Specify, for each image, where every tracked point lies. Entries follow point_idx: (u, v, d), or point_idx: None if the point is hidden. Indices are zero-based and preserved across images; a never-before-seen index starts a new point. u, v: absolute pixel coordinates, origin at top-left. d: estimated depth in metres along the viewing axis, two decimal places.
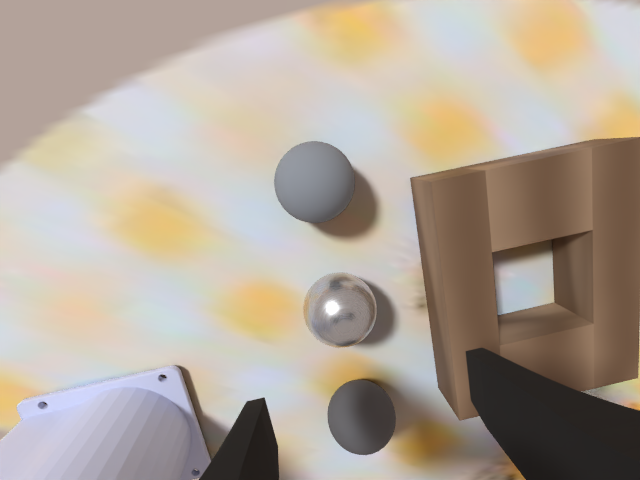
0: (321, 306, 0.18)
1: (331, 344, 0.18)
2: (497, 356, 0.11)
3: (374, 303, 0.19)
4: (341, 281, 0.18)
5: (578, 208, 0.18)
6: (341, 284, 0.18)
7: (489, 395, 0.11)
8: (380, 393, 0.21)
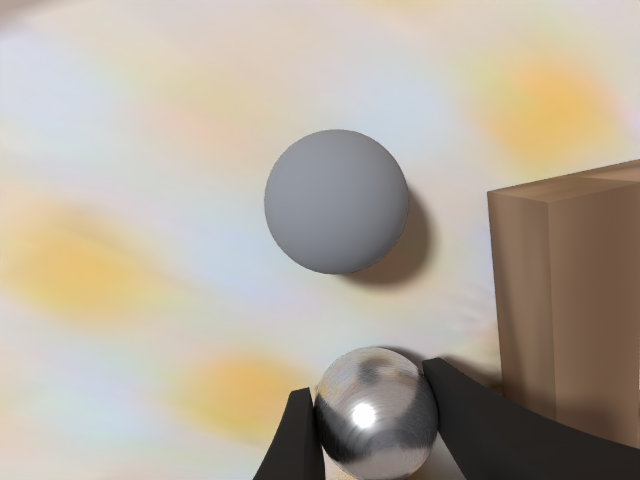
0: (347, 421, 0.10)
1: None
2: (449, 367, 0.11)
3: (435, 407, 0.11)
4: (381, 372, 0.11)
5: None
6: (382, 380, 0.10)
7: (441, 406, 0.11)
8: None
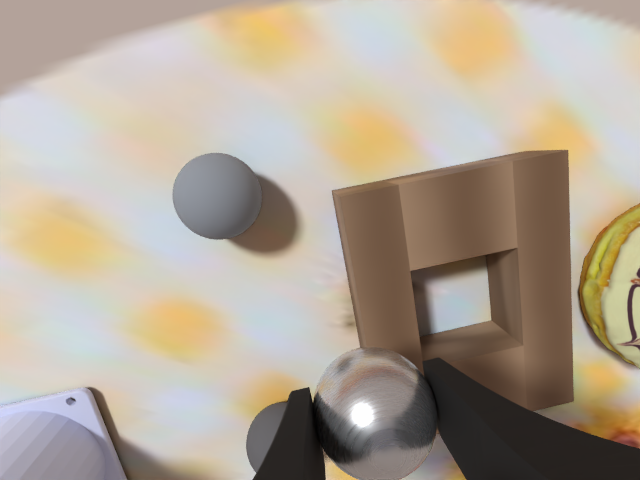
0: (346, 420, 0.10)
1: None
2: (450, 366, 0.11)
3: (434, 407, 0.11)
4: (380, 371, 0.11)
5: (501, 225, 0.17)
6: (381, 379, 0.10)
7: (442, 406, 0.11)
8: None
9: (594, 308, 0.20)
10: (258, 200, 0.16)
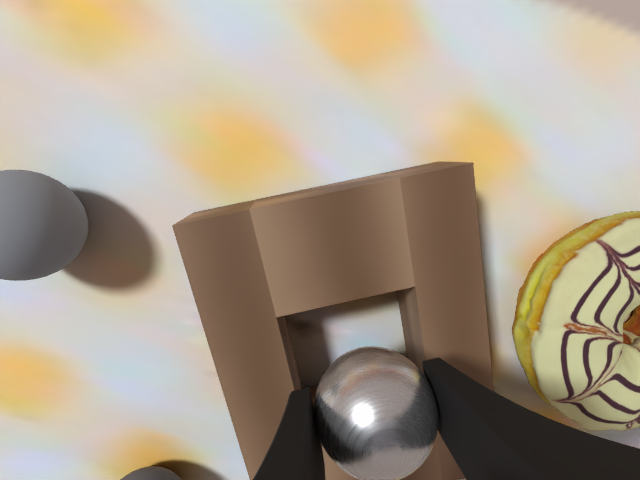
0: (347, 420, 0.10)
1: None
2: (450, 367, 0.11)
3: (435, 406, 0.11)
4: (381, 371, 0.11)
5: (391, 258, 0.14)
6: (381, 379, 0.10)
7: (441, 406, 0.11)
8: None
9: (525, 355, 0.16)
10: (67, 230, 0.13)
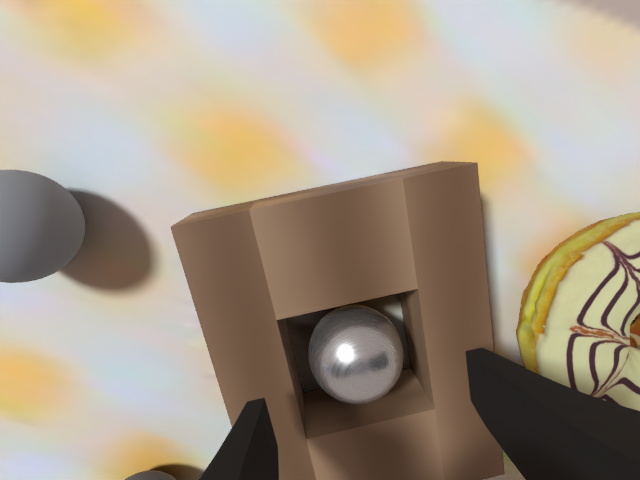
0: (333, 353, 0.13)
1: (345, 401, 0.14)
2: (496, 356, 0.11)
3: (401, 346, 0.14)
4: (359, 318, 0.14)
5: (393, 260, 0.13)
6: (359, 324, 0.14)
7: (489, 395, 0.11)
8: None
9: (529, 358, 0.16)
10: (64, 232, 0.12)
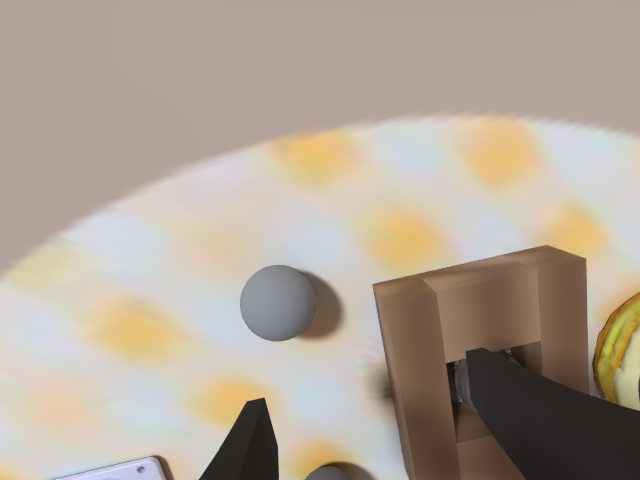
0: None
1: None
2: (497, 355, 0.11)
3: None
4: None
5: (526, 322, 0.20)
6: None
7: (489, 395, 0.11)
8: None
9: (608, 385, 0.22)
10: (314, 307, 0.19)
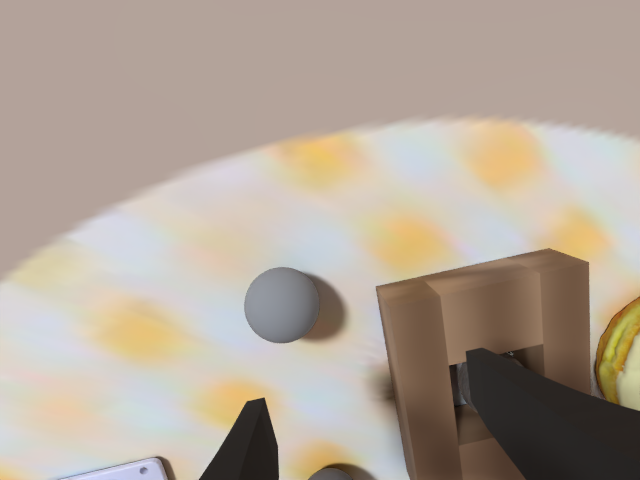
0: None
1: None
2: (497, 355, 0.11)
3: None
4: None
5: (529, 325, 0.20)
6: None
7: (489, 395, 0.11)
8: None
9: (610, 388, 0.22)
10: (318, 310, 0.19)
